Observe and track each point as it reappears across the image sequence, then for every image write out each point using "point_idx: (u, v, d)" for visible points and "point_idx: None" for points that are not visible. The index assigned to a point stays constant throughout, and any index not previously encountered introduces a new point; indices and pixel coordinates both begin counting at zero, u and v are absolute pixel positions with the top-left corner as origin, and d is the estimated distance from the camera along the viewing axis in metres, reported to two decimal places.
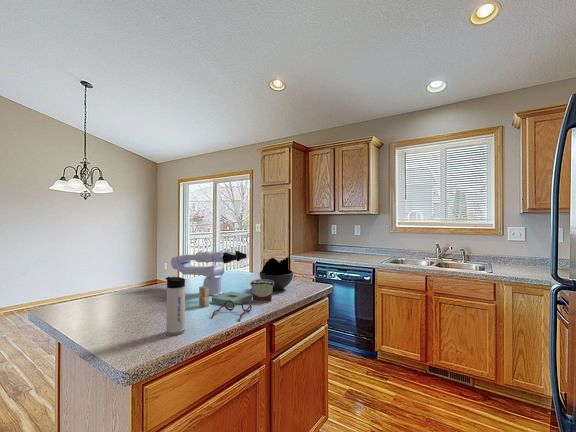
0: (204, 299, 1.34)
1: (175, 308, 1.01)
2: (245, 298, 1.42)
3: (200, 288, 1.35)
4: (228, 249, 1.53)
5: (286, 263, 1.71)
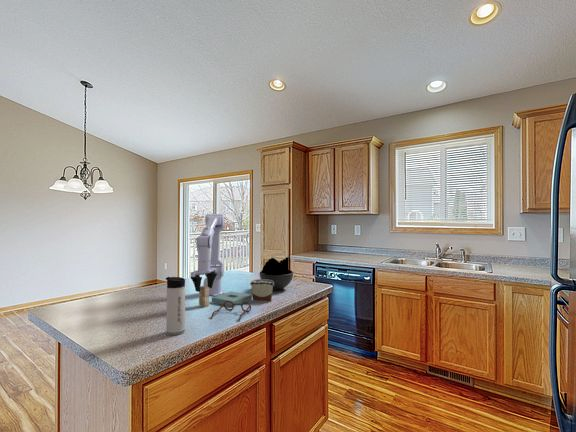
0: (204, 299, 1.34)
1: (175, 308, 1.01)
2: (245, 298, 1.42)
3: (200, 288, 1.35)
4: (210, 272, 1.34)
5: (286, 263, 1.71)
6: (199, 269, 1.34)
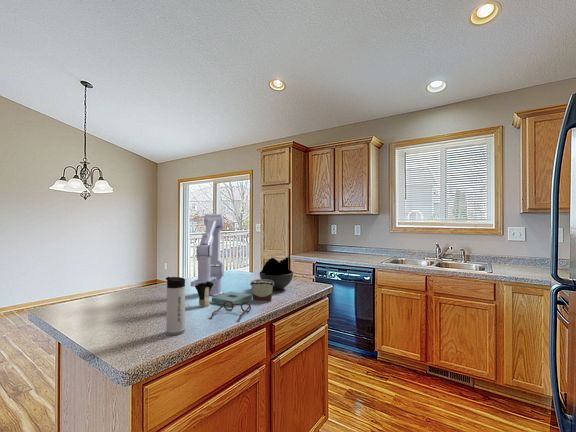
0: (204, 299, 1.34)
1: (175, 308, 1.01)
2: (245, 298, 1.42)
3: None
4: (209, 281, 1.34)
5: (286, 263, 1.71)
6: (199, 278, 1.34)
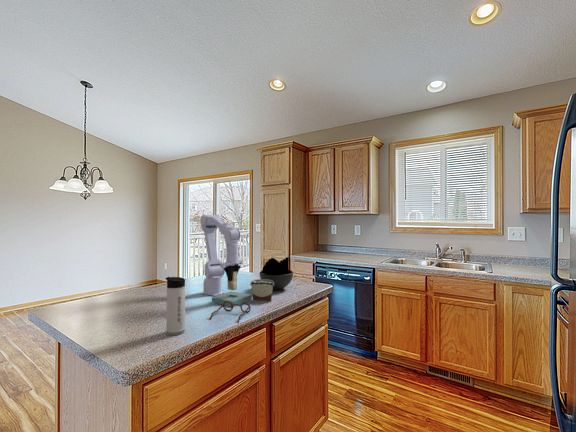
0: (233, 283, 1.42)
1: (175, 308, 1.01)
2: (245, 298, 1.42)
3: None
4: (237, 263, 1.42)
5: (286, 263, 1.71)
6: (228, 261, 1.42)
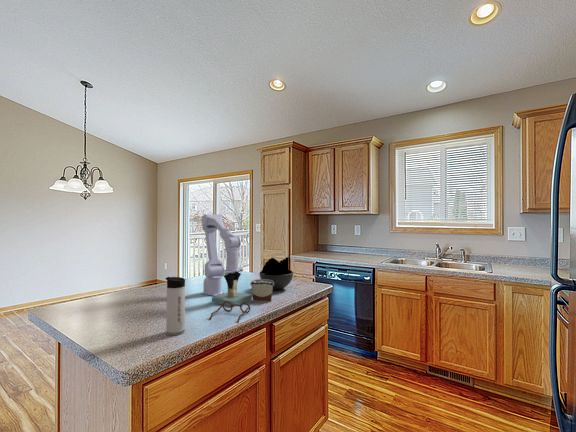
0: (233, 291, 1.42)
1: (175, 308, 1.01)
2: (245, 298, 1.42)
3: None
4: (238, 271, 1.42)
5: (286, 263, 1.71)
6: (228, 268, 1.42)
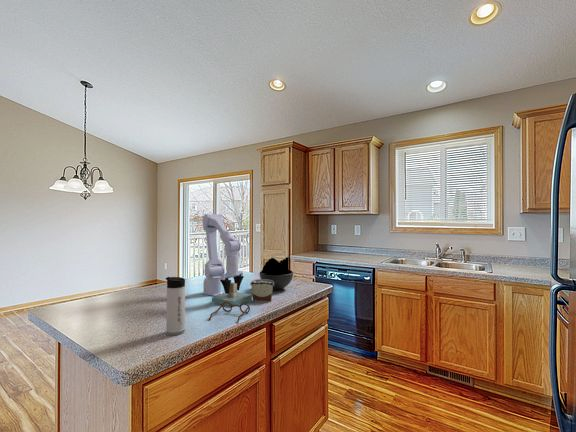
0: (233, 295, 1.42)
1: (175, 308, 1.01)
2: (245, 298, 1.42)
3: None
4: (238, 275, 1.42)
5: (286, 263, 1.71)
6: (228, 272, 1.42)
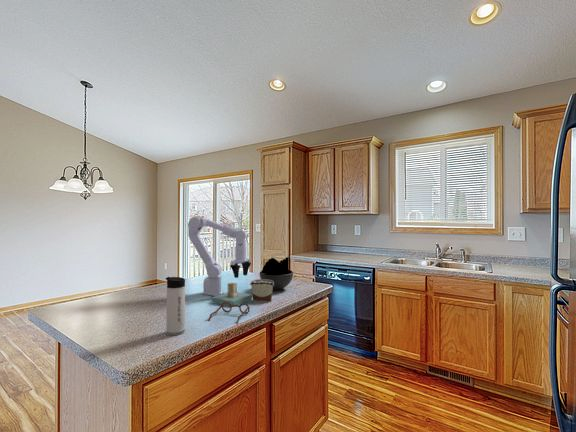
0: (233, 295, 1.42)
1: (175, 308, 1.01)
2: (245, 298, 1.42)
3: (228, 284, 1.43)
4: (246, 261, 1.57)
5: (286, 263, 1.71)
6: (237, 259, 1.57)
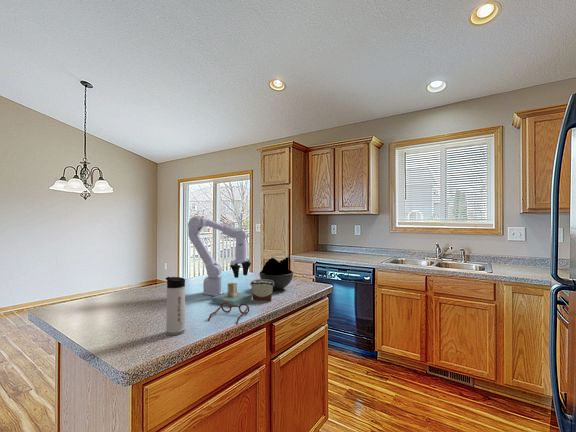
0: (233, 295, 1.42)
1: (175, 308, 1.01)
2: (245, 298, 1.42)
3: (228, 284, 1.43)
4: (246, 261, 1.57)
5: (286, 263, 1.71)
6: (237, 259, 1.57)
